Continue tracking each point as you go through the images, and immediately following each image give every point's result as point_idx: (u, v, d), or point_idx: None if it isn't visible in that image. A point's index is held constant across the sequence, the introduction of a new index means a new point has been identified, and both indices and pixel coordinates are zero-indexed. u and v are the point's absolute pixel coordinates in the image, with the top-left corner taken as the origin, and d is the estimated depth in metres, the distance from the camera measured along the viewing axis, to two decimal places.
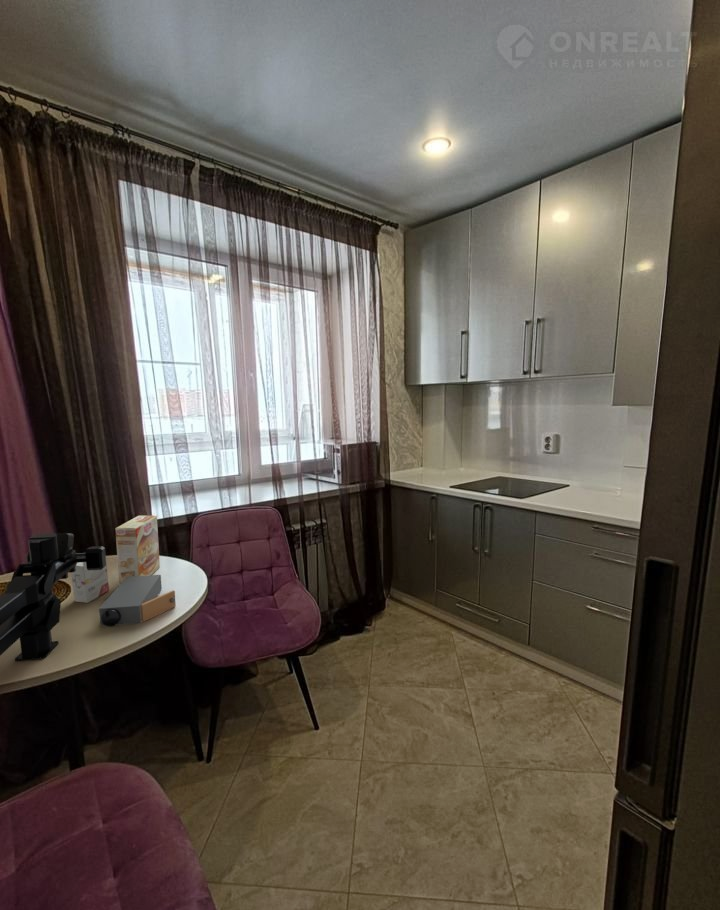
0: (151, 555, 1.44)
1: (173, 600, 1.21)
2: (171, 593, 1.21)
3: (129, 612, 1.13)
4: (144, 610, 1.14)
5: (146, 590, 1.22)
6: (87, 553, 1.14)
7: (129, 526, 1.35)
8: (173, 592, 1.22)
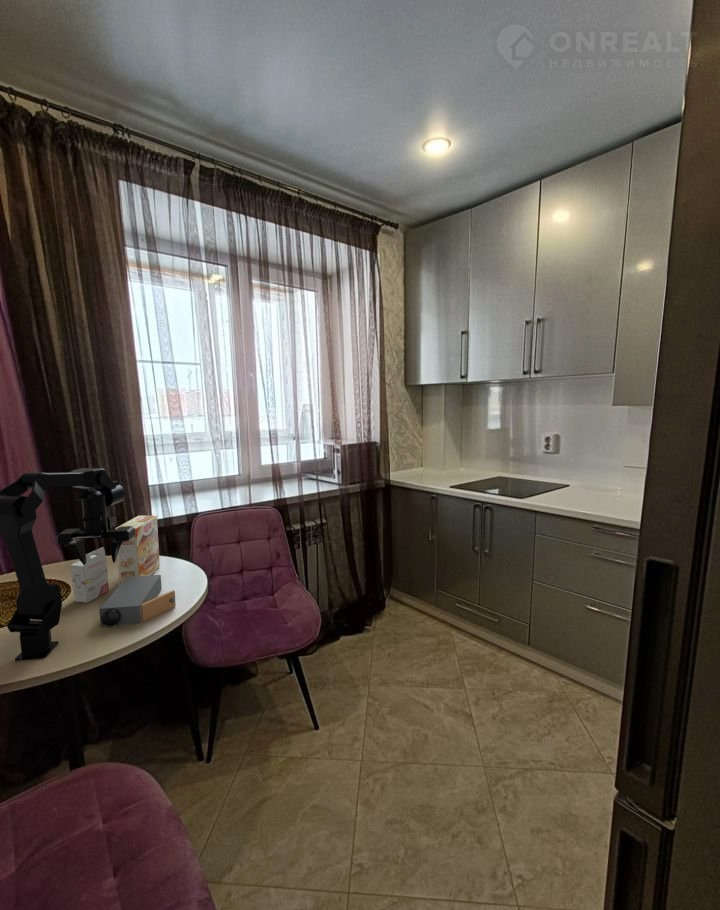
0: (151, 555, 1.44)
1: (173, 600, 1.21)
2: (171, 593, 1.21)
3: (129, 612, 1.13)
4: (144, 610, 1.14)
5: (146, 590, 1.22)
6: None
7: None
8: (173, 592, 1.22)
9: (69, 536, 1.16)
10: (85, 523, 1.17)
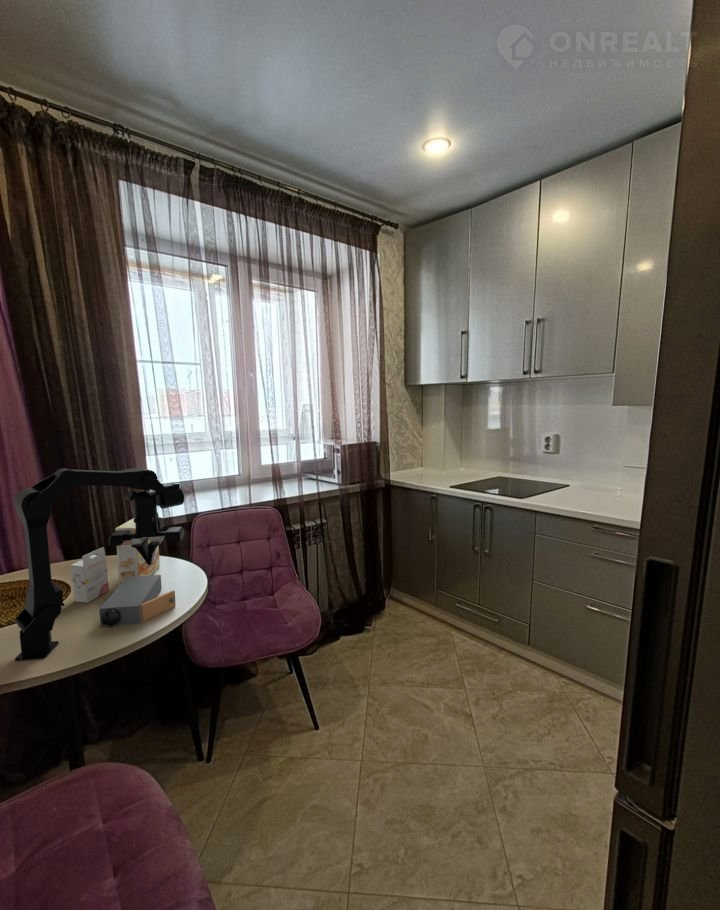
0: None
1: (173, 600, 1.21)
2: (171, 593, 1.21)
3: (129, 612, 1.13)
4: (144, 610, 1.14)
5: (146, 590, 1.22)
6: (171, 527, 1.22)
7: (129, 526, 1.35)
8: (173, 592, 1.22)
9: (122, 538, 1.15)
10: (137, 524, 1.16)
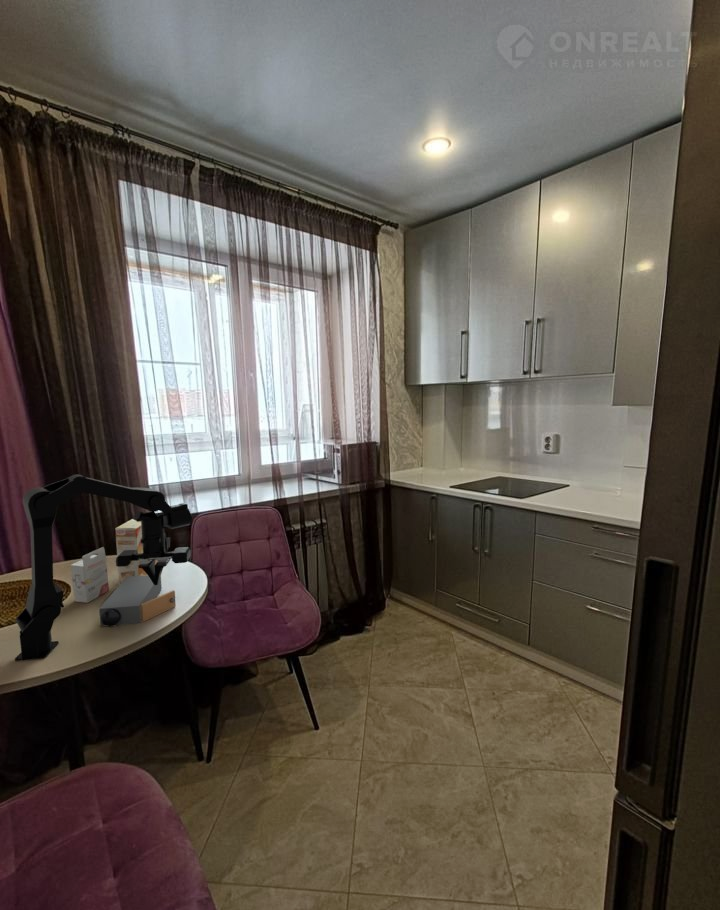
0: None
1: (173, 600, 1.21)
2: (171, 593, 1.21)
3: (129, 612, 1.13)
4: (144, 610, 1.14)
5: (146, 590, 1.22)
6: None
7: (129, 526, 1.35)
8: (173, 592, 1.22)
9: (129, 558, 1.16)
10: (144, 545, 1.16)
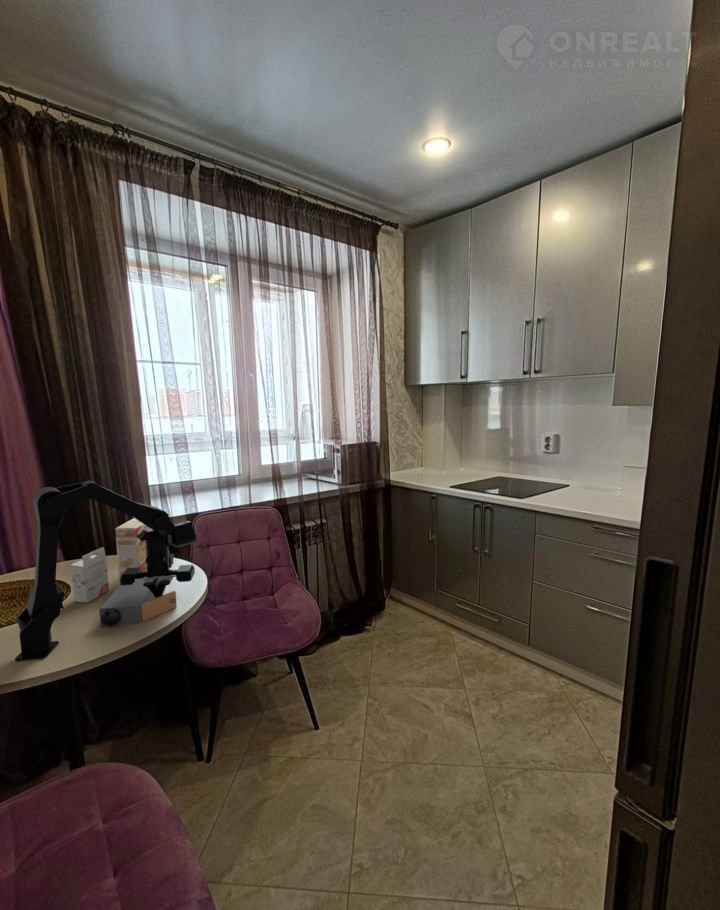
0: None
1: (174, 601, 1.21)
2: (172, 593, 1.21)
3: (129, 612, 1.13)
4: (144, 610, 1.14)
5: (146, 590, 1.22)
6: (182, 565, 1.23)
7: (129, 526, 1.35)
8: (174, 593, 1.21)
9: (133, 577, 1.16)
10: (149, 564, 1.17)
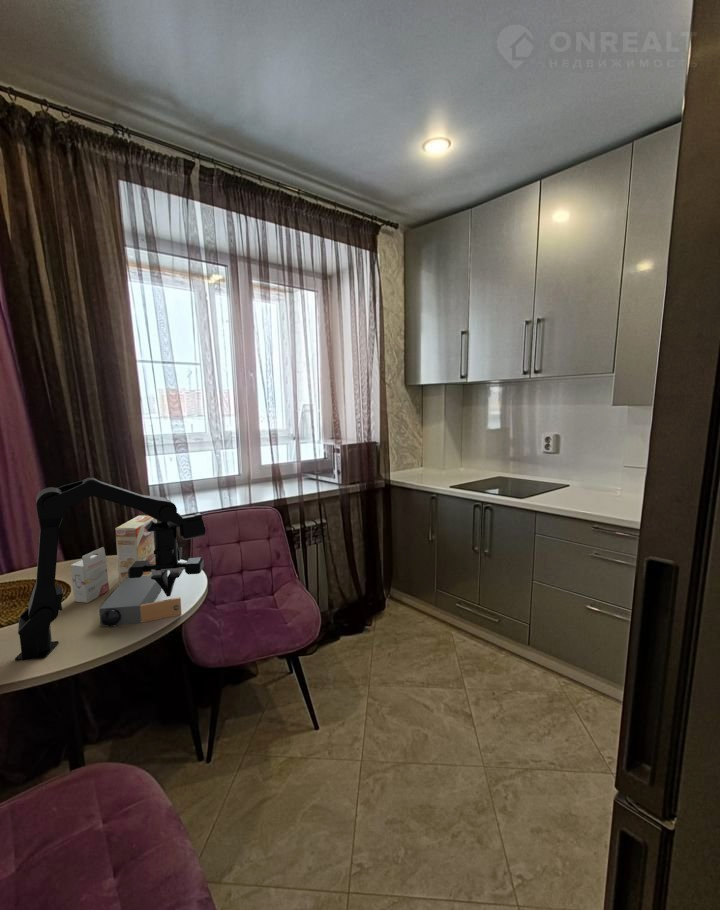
0: (151, 555, 1.44)
1: (176, 608, 1.17)
2: (176, 600, 1.17)
3: (129, 612, 1.13)
4: (142, 611, 1.14)
5: (146, 590, 1.22)
6: (190, 558, 1.20)
7: (129, 526, 1.35)
8: (178, 599, 1.17)
9: (141, 570, 1.13)
10: (157, 556, 1.14)
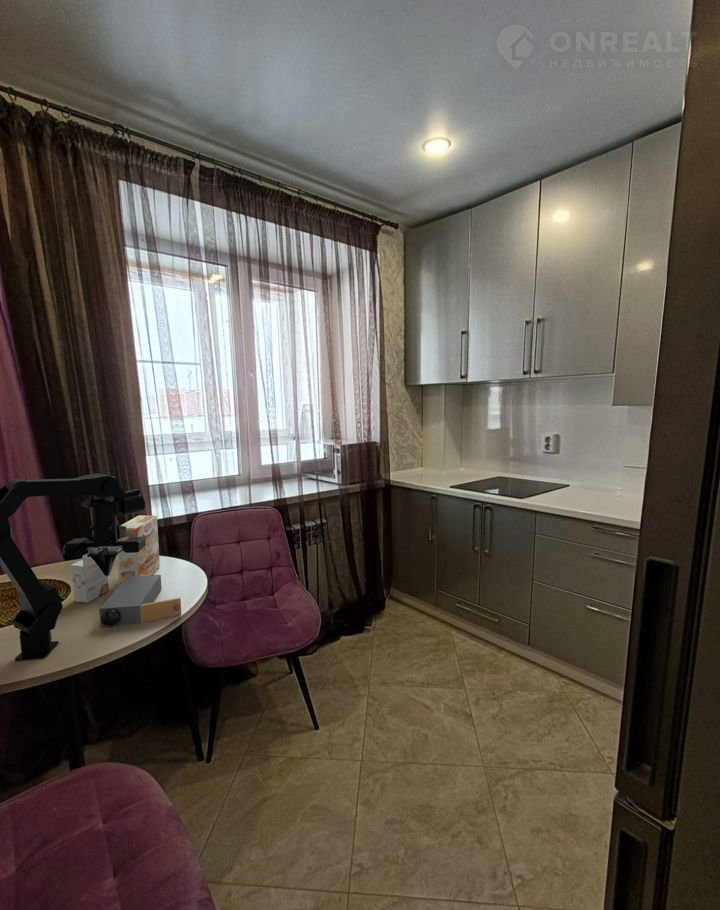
0: (151, 555, 1.44)
1: (176, 608, 1.17)
2: (176, 600, 1.17)
3: (129, 612, 1.13)
4: (142, 611, 1.14)
5: (146, 590, 1.22)
6: None
7: (129, 526, 1.35)
8: (178, 599, 1.17)
9: (77, 546, 1.10)
10: (93, 532, 1.10)
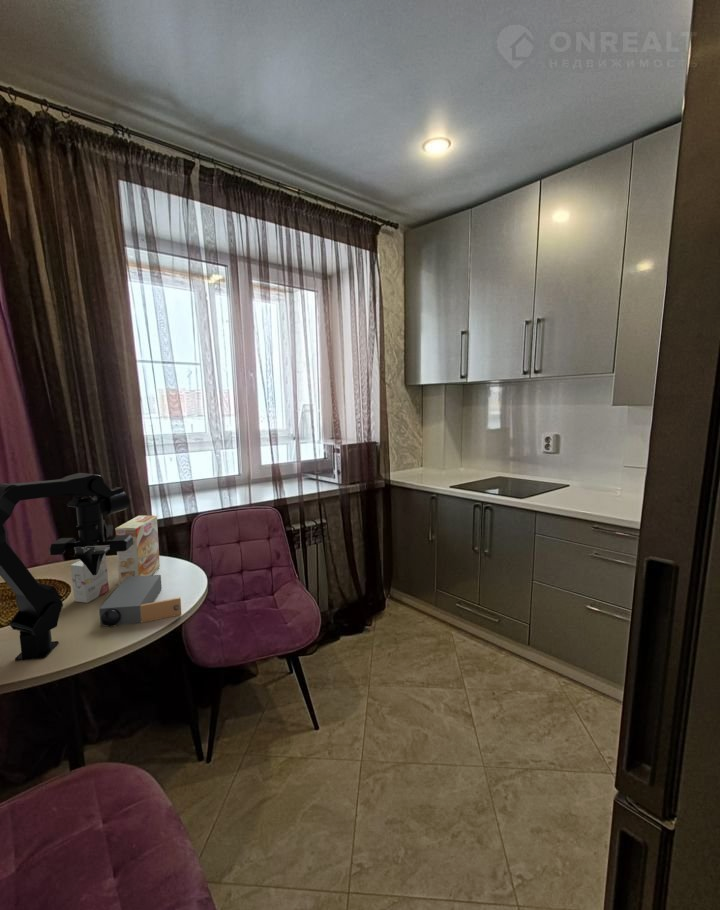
0: (151, 555, 1.44)
1: (176, 608, 1.17)
2: (176, 600, 1.17)
3: (129, 612, 1.13)
4: (142, 611, 1.14)
5: (146, 590, 1.22)
6: None
7: (129, 526, 1.35)
8: (178, 599, 1.17)
9: (63, 546, 1.09)
10: (80, 532, 1.10)
